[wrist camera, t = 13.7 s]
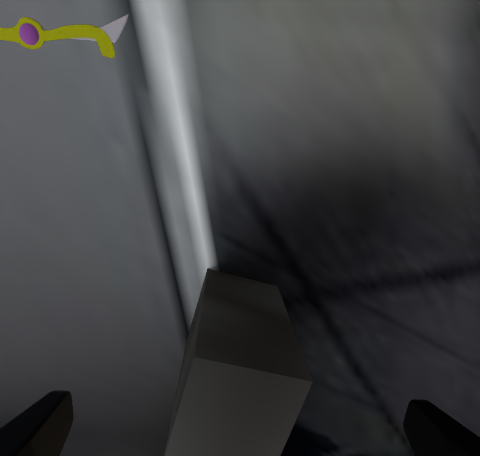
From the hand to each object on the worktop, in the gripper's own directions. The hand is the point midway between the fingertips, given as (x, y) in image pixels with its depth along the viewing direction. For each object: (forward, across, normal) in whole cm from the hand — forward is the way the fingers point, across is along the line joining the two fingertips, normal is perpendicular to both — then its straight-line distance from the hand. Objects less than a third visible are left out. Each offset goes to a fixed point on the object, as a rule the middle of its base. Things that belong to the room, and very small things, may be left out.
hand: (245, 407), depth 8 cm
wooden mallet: (+5, +2, +7) cm, 8 cm away
